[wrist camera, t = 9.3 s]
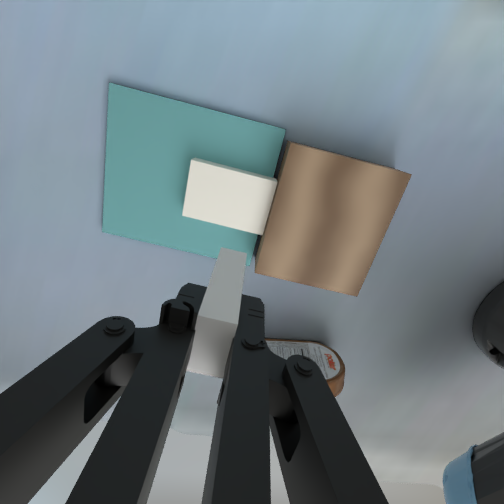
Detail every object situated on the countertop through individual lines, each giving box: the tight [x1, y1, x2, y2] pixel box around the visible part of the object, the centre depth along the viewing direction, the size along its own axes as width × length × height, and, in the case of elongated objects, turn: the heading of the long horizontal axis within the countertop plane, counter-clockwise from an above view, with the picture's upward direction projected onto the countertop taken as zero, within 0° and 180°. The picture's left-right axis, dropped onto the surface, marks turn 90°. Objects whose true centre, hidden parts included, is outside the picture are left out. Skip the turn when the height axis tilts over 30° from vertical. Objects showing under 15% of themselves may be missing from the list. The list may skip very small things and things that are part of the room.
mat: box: [102, 83, 286, 266], centre depth 33 cm, size 18×16×1 cm
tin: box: [264, 338, 345, 397], centre depth 38 cm, size 15×3×8 cm, turn 88°
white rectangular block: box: [182, 158, 277, 235], centre depth 32 cm, size 9×6×2 cm, turn 76°
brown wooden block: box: [255, 141, 411, 297], centre depth 33 cm, size 12×14×4 cm
